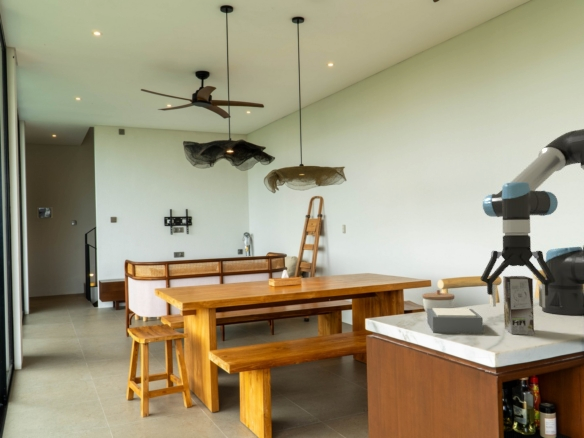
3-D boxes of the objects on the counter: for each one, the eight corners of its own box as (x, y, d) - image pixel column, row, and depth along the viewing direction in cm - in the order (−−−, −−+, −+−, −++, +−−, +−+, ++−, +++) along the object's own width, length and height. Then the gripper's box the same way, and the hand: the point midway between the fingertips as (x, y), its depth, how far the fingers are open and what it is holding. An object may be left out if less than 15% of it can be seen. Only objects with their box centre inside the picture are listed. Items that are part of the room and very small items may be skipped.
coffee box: (535, 335, 140) (533, 278, 141) (511, 334, 142) (509, 278, 142) (526, 328, 149) (525, 275, 150) (504, 328, 151) (502, 275, 151)
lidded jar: (461, 318, 167) (460, 291, 167) (431, 320, 165) (431, 292, 165) (445, 313, 178) (444, 287, 178) (417, 315, 176) (417, 289, 176)
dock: (472, 323, 159) (471, 307, 159) (482, 333, 143) (482, 316, 143) (427, 322, 161) (427, 307, 162) (433, 332, 146) (432, 315, 146)
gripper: (556, 234, 148) (558, 305, 147) (470, 234, 152) (471, 303, 151) (566, 234, 140) (568, 309, 140) (474, 234, 145) (476, 307, 144)
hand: (517, 306), depth 146 cm, fingers open, 13 cm apart
